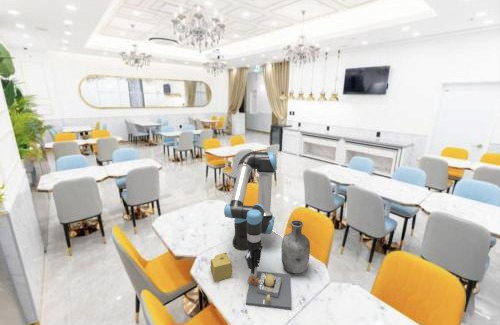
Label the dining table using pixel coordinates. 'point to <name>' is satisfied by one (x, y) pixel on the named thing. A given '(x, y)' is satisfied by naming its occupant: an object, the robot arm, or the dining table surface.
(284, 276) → the jig
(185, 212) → the dining table surface
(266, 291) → the handled square frame
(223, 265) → the cheese
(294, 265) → the vase
